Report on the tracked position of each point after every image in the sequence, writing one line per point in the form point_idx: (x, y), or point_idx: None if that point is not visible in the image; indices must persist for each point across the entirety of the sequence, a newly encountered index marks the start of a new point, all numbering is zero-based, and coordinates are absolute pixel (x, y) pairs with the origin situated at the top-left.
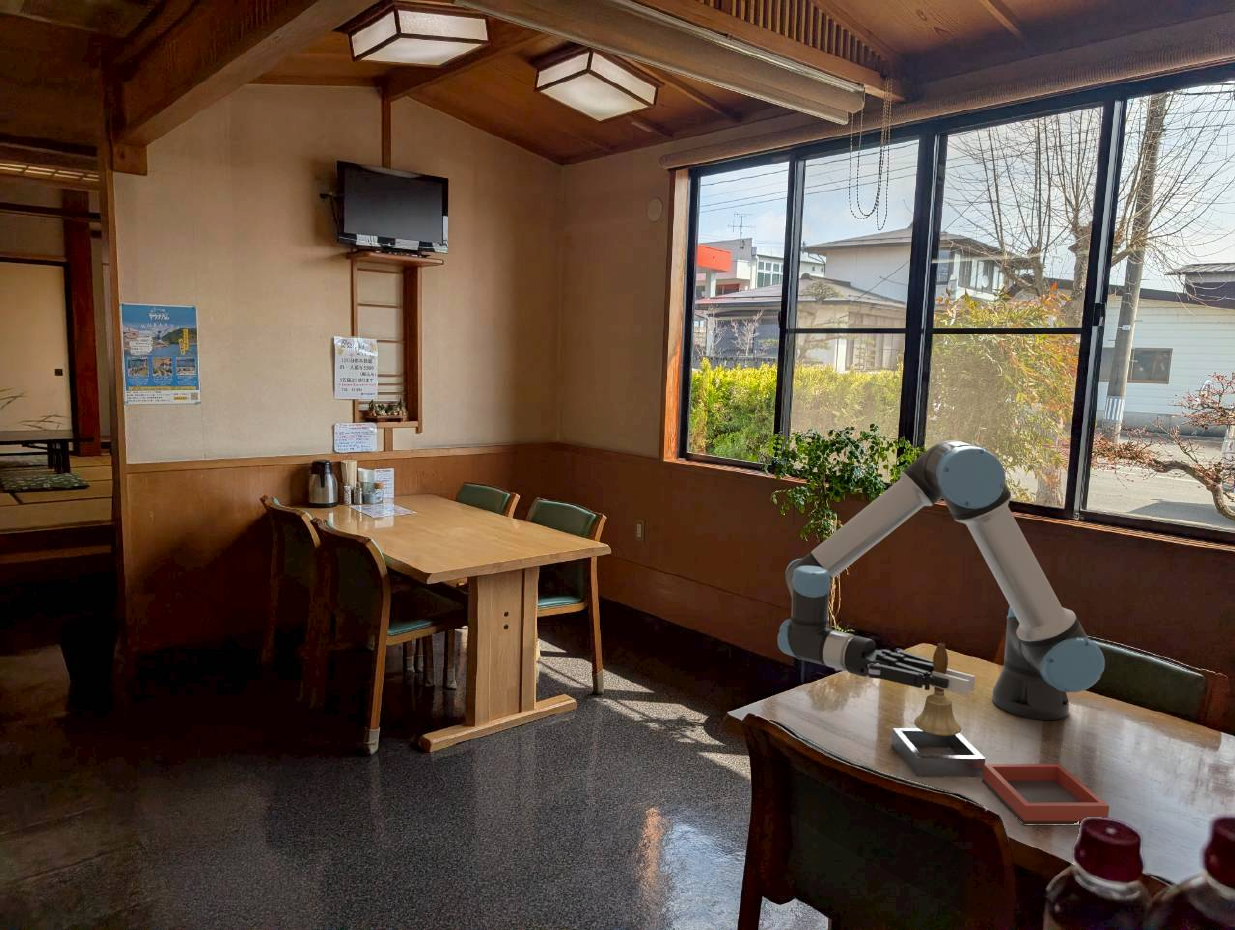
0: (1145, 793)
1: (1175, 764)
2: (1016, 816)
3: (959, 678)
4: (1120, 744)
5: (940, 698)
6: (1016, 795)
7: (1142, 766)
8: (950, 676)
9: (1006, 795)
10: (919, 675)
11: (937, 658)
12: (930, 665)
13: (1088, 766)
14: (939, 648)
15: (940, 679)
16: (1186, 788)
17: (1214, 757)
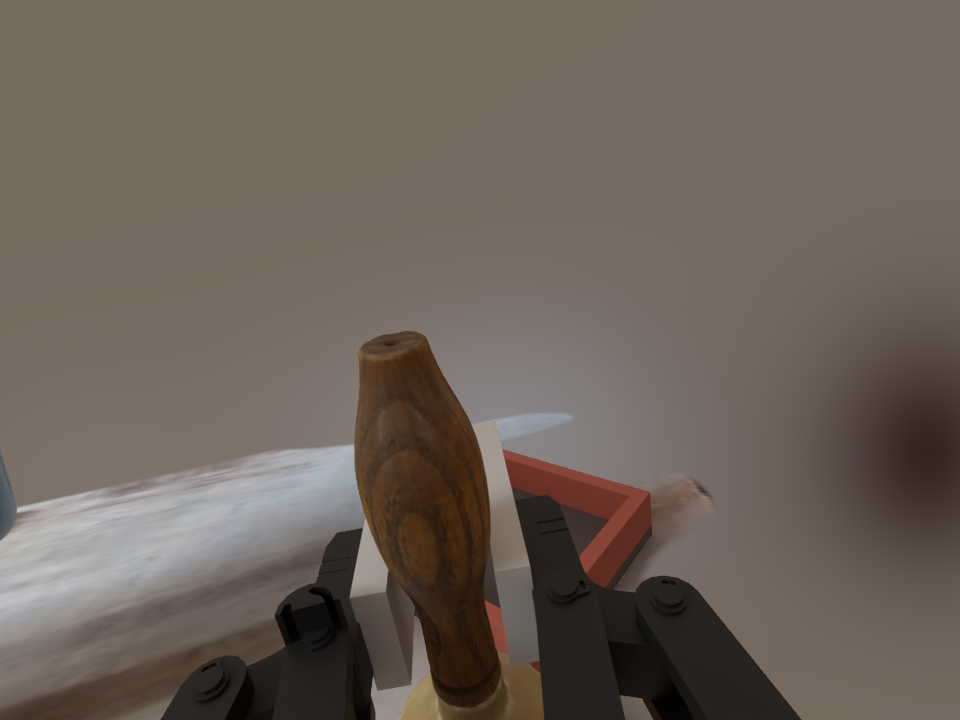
0: (310, 497)
1: (134, 517)
2: (637, 551)
3: (490, 448)
4: (39, 600)
5: (507, 677)
6: (624, 519)
7: (171, 538)
8: (503, 476)
9: (610, 563)
10: (694, 590)
11: (478, 449)
12: (348, 678)
13: (226, 587)
14: (437, 368)
15: (557, 522)
16: (246, 481)
17: (72, 503)
